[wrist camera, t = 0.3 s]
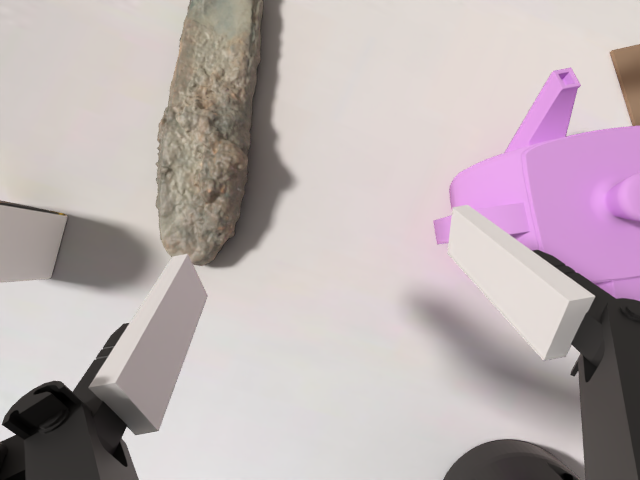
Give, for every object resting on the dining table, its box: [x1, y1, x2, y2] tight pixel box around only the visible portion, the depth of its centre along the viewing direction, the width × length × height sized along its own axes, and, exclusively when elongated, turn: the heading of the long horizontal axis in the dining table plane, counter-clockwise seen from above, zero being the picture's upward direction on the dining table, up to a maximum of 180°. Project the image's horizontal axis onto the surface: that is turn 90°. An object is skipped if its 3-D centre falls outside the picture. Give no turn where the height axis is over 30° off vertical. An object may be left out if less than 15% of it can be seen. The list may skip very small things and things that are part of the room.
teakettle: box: [433, 68, 640, 301], centre depth 24 cm, size 17×17×12 cm
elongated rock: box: [156, 0, 263, 266], centre depth 29 cm, size 35×5×10 cm
